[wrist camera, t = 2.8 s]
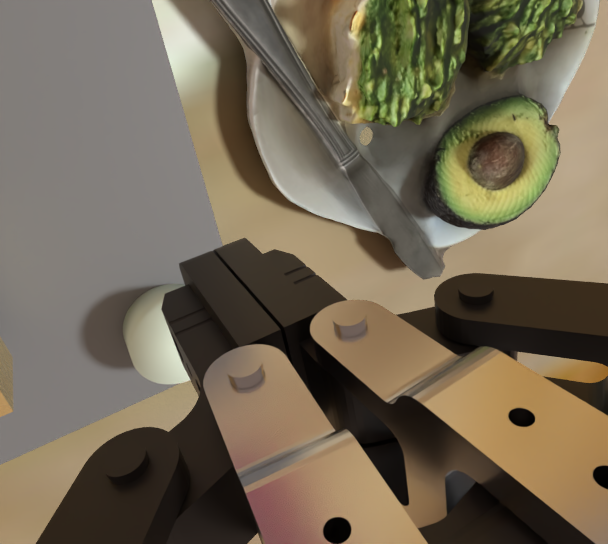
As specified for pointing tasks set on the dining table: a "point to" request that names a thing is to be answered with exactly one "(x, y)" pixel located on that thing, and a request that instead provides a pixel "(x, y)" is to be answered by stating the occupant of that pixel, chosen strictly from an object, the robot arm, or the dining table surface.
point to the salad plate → (410, 109)
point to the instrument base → (90, 212)
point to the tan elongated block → (6, 380)
